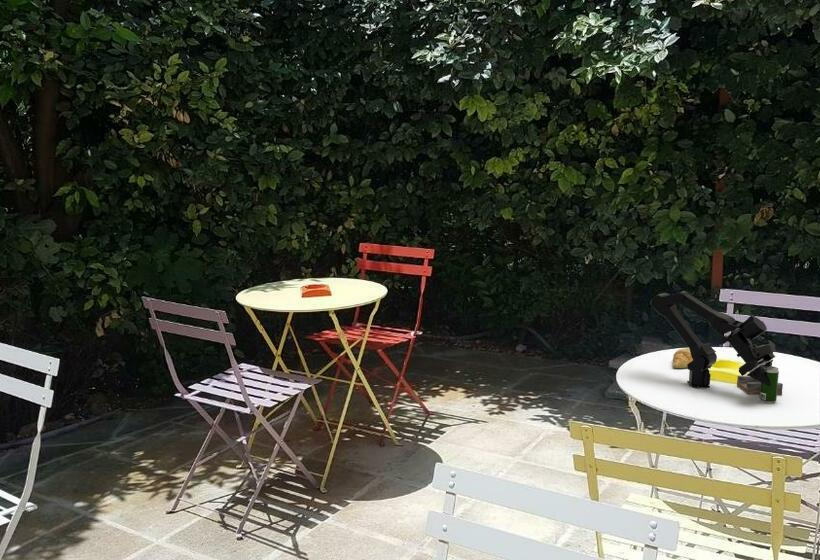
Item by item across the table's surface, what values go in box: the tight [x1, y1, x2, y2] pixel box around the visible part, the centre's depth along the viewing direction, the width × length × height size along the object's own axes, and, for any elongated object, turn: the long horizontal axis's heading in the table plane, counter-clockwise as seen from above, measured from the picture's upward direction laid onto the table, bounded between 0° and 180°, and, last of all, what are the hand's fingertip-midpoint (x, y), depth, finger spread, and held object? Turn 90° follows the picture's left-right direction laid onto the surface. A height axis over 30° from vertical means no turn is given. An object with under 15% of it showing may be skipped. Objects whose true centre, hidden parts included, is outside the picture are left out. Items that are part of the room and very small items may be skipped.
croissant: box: [672, 347, 693, 369], centre depth 298 cm, size 21×10×8 cm, turn 137°
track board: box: [736, 375, 784, 396], centre depth 264 cm, size 12×10×4 cm
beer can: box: [758, 366, 780, 404], centre depth 252 cm, size 5×5×12 cm
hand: (773, 383), depth 251 cm, fingers closed on beer can, 5 cm apart
